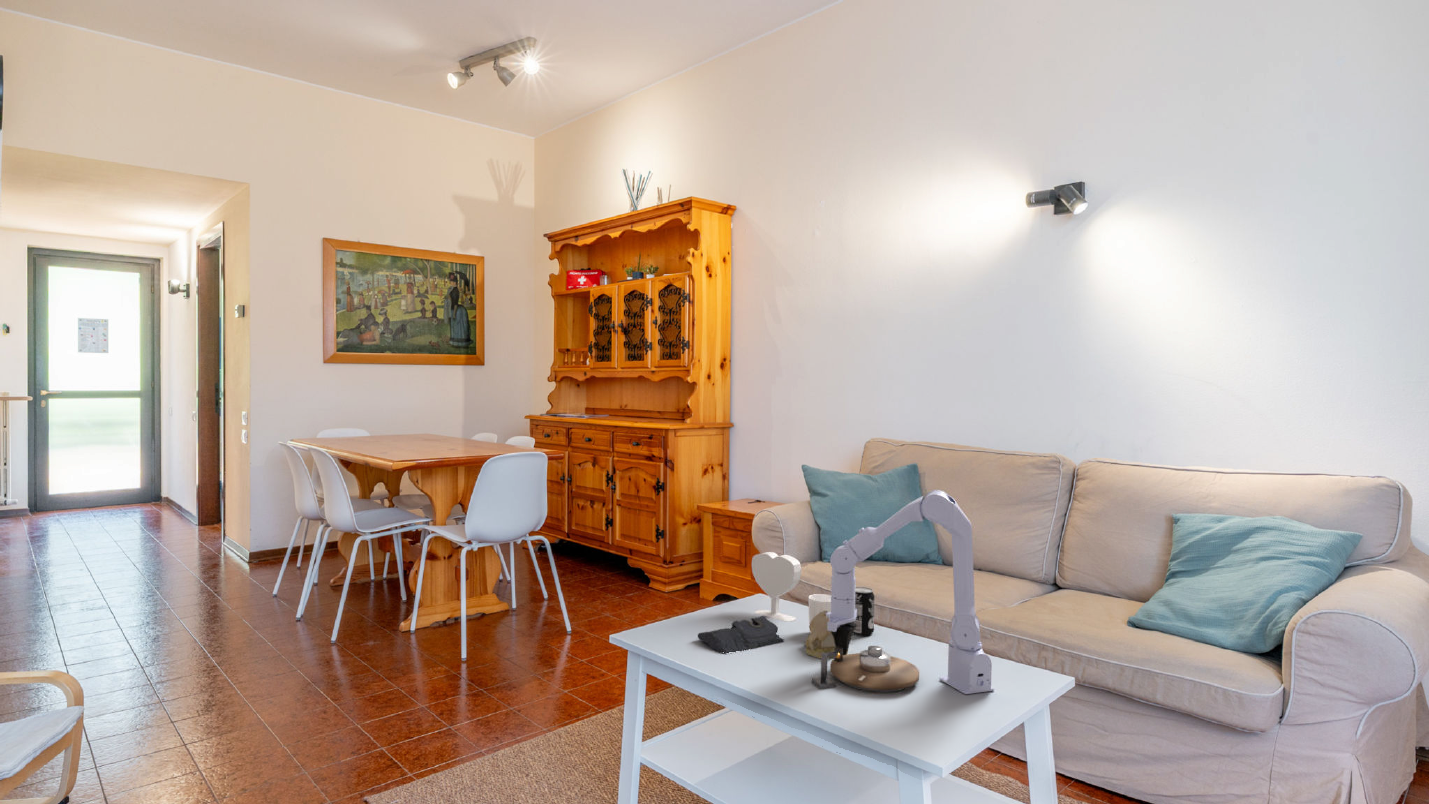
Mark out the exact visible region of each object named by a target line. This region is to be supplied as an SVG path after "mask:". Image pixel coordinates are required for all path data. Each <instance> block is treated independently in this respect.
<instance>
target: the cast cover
mask: <svg viewBox="0 0 1429 804" xmlns="http://www.w3.org/2000/svg"><path fill="white" fill-rule="evenodd" d="M859 653H860V659H859V667H860V669H862V670H863V671H866V672H870V673H886V672H889V671H890V664H891V656H892V655H891V654H890V653H888V652H886V651H883V647H881V646H879V645H870V646H868V648H867V649H865V650H863V651H860V652H859Z"/></svg>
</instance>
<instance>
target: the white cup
mask: <svg viewBox="0 0 1429 804" xmlns="http://www.w3.org/2000/svg"><path fill="white" fill-rule="evenodd" d="M807 598H808V624H809V625H810V623H811V621H812V619H813V618H814V617H815V616H816V615H818V614H819V613H820V612H822V611H828V612H831V594H826V593H825V594H824V593H814V594H811V595H808V597H807ZM810 634H811V630H810V629H809V635H810Z"/></svg>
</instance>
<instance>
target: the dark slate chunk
mask: <svg viewBox="0 0 1429 804" xmlns="http://www.w3.org/2000/svg"><path fill="white" fill-rule="evenodd" d="M778 629H779V627H778V626H777V625H776V624H775V623H773V621H770V620H768V618H766V616H763V615H760V616H758V617H755V618H753V617H752V618H751V621H749V620H747V619H742V620H740V621H738V620H734V621H732V623H731V627H730V628H729V627H728V628H727V627H725V628H720V629H715V630H711V631H704V632H699V633H697V639H699V640H701V641H702V642H703V643H705V644H706V645H709V647H710V648H711V649H713V650H714V651H716V650H717V651H718V653H720V652H724V653H729V652H735V653H737V652H736V651H740V652H745V651H749V649H750V650H755V649H758V648H764V647H769V646H772V645H777V644H782V643H784V642H785V638H781V637H780V635H779V634H777V633H778ZM742 650H743V651H742ZM744 650H745V651H744ZM717 651H716V652H717ZM724 653H723V654H724Z"/></svg>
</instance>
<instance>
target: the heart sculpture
mask: <svg viewBox="0 0 1429 804" xmlns="http://www.w3.org/2000/svg"><path fill="white" fill-rule="evenodd" d="M751 558H752V559H751V572H752V575H753V577H754V579H755V582H756V584H758V586H759V587H760V588H761V590H762V591H763V592H764V593H765V594H766V595H767V596H768V597H769V598H770V599H771V600H770V603H771V604H770V610H768V609H759V610H756V611H754V614H756V615H760V616H764V617H768V618H771V619H775V620H780V621H784V622H793V621H795V620H796V619H797V617H795V616H791V615H787V614H784V613H781V612H780V597H781V596H783V595H786V594H787V593H790V592H791V591H792V590H793V589H794V588H796V586H797V585H798V584H799V582H800V580H801V575H802V566H801V562H800V561H799V560H798V559H797V558H795V557H794V556H791V555H789V554H782V555H778V554H777V553H776V552H773V551H768V552H767V551H765V552H761V553H757V554H755V555H753V556H752V557H751Z"/></svg>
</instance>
